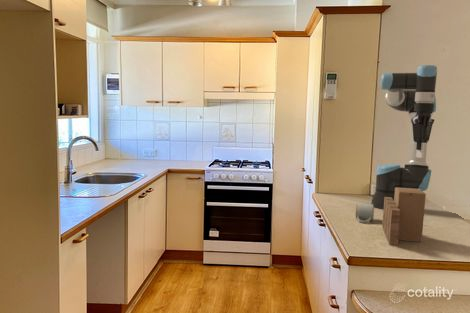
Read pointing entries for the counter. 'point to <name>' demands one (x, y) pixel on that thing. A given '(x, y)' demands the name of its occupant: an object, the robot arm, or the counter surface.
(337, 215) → the counter surface
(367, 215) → the ceramic mug
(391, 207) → the walnut board
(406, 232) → the wooden block
